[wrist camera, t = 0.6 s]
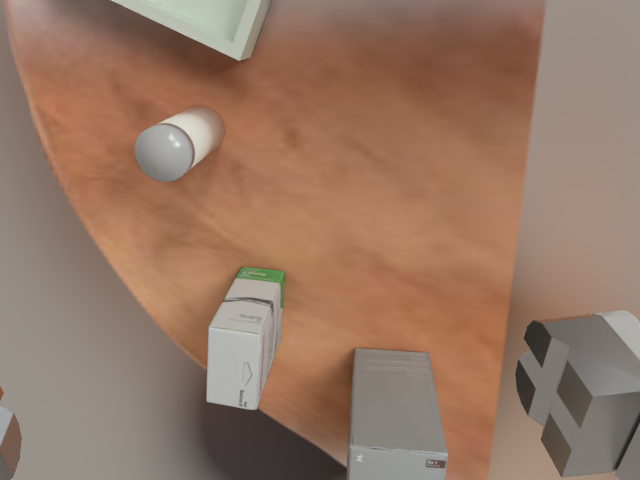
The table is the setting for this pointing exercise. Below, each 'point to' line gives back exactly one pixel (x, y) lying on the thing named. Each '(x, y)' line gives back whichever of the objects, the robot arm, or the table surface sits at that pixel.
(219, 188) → the table surface
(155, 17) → the sage tray
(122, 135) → the table surface
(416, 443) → the skincare box
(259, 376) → the ink box
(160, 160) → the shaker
